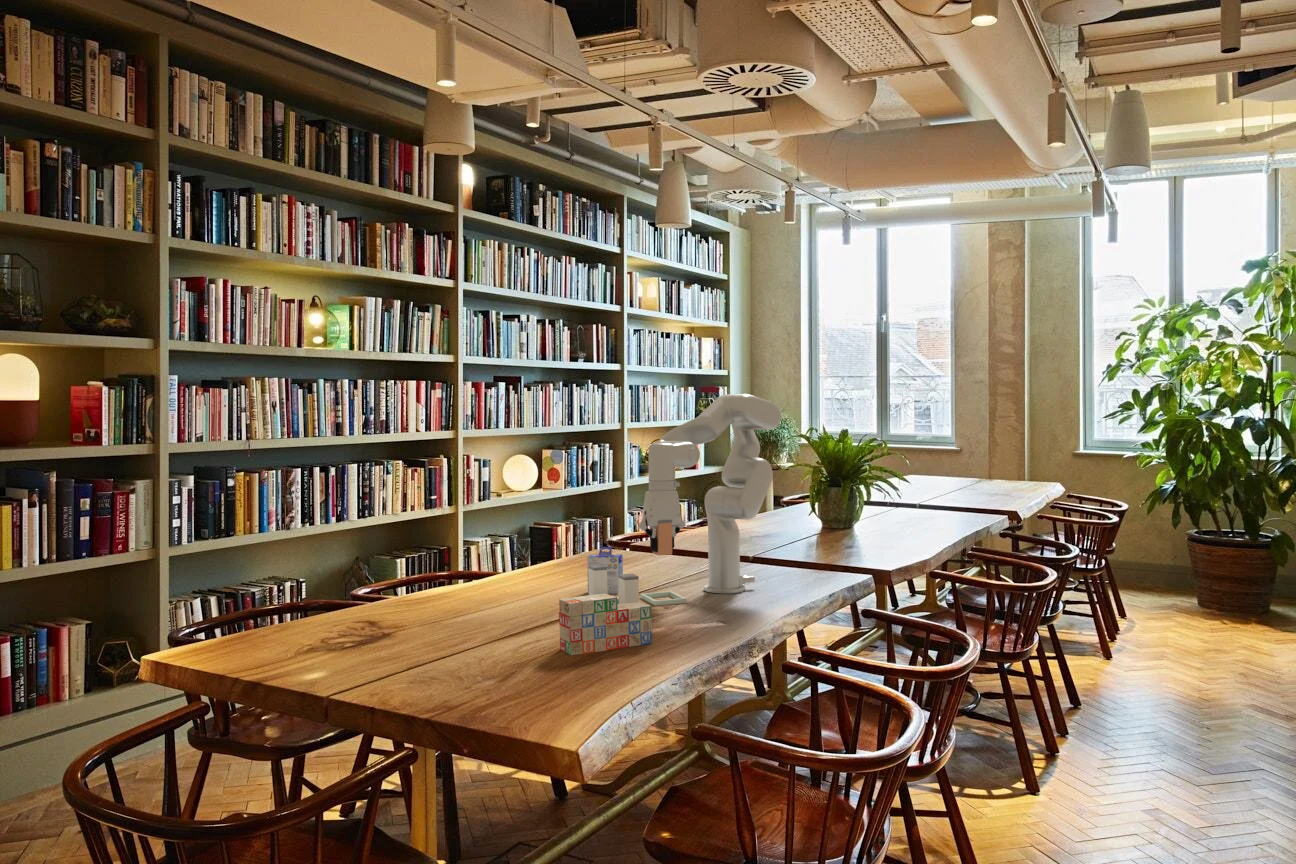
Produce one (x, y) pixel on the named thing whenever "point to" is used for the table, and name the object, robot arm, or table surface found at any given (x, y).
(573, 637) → the stack of blocks
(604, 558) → the ink cartridge box
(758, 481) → the robot arm
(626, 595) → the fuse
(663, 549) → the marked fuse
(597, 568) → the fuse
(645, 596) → the tray
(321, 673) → the table surface
